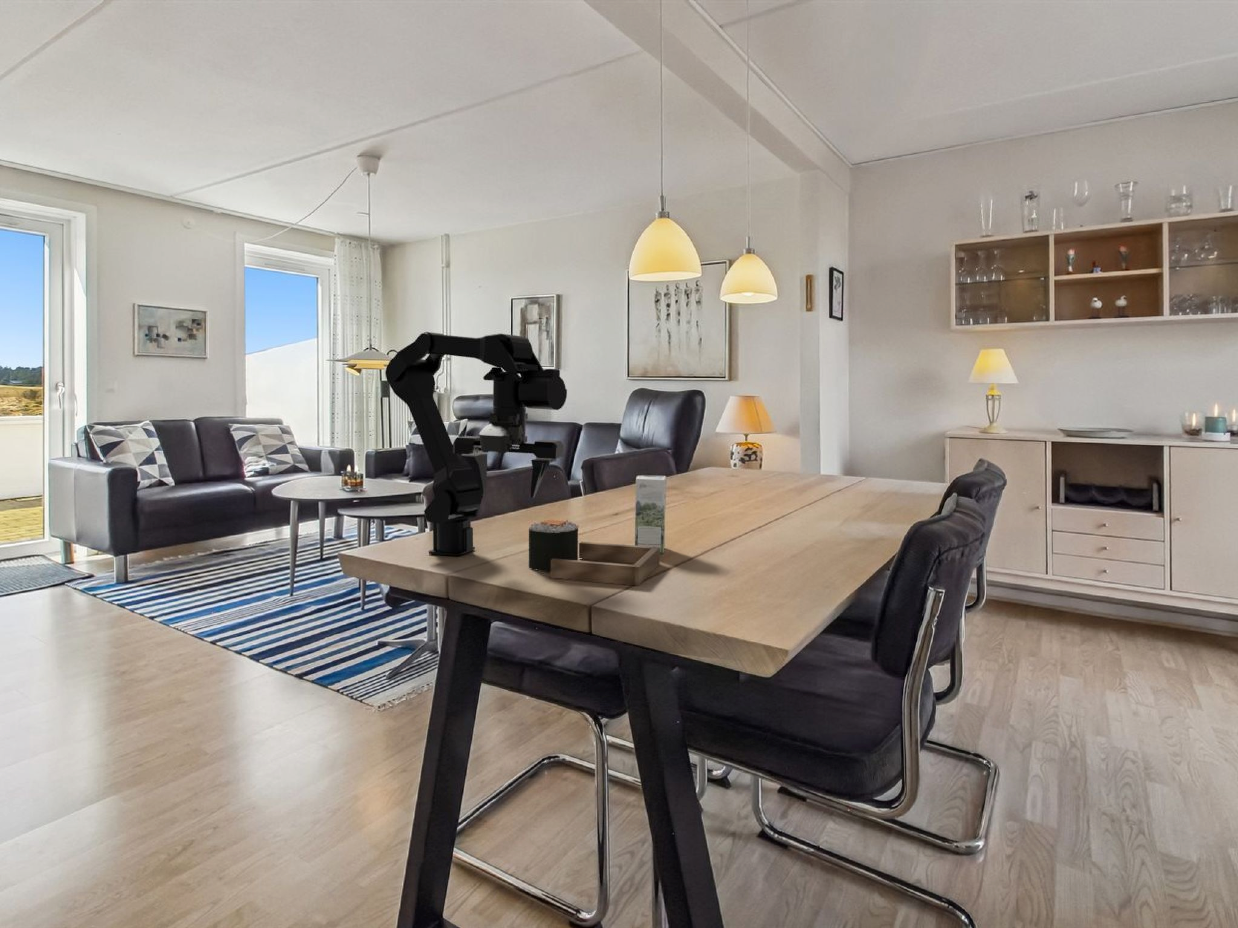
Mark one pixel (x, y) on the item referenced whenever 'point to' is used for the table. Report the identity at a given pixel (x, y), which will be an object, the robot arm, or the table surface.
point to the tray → (608, 572)
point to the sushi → (552, 543)
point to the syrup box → (650, 511)
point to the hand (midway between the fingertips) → (507, 495)
